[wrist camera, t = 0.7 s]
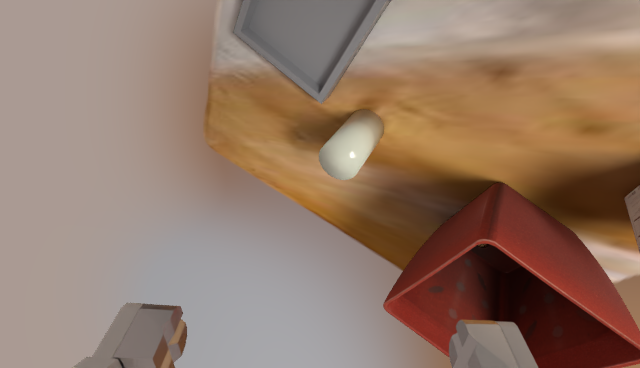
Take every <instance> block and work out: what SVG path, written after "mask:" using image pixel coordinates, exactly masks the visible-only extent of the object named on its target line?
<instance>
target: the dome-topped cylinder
mask: <svg viewBox="0 0 640 368" xmlns="http://www.w3.org/2000/svg"><path fill="white" fill-rule="evenodd" d="M383 134H384V124H383V122H382V120H381V118H380V117H379V116H378V115H377V114H376V113H374V112H372V111H370V110H364V109H363V110H358V111H356V112H354V113H353V114H352V115H351V116H350V117H349V118H348V120H347V121H346V122H345V123H344V124H343V125H342V126H341V127H340V128H339V129H338V130H337V132H336V133H335V134H334V135H333V136H332V137H331V138H330V139H329V140H328V141H327V142H326V144H325V145H324V146H323V147H322V148H321V150H320V152H319V161H320V164H321V166H322V168H323V169H324V170H325V171H326V172H327V173H328V174H329V175H330V176H332V177H334V178H336V179H340V180H348V179H351V178H353V177H354V176H355V175H356V174H357V173H358V171H359V170H360V168H361V167H362V165H363V164H364V162H365V161H366V160H367V158H368V157H369V155H370V154H371V152H372V151H373V149H374V148H375V147H376V145H377V144H378V142H379V141H380V139H381V138H382V136H383Z"/></svg>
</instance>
